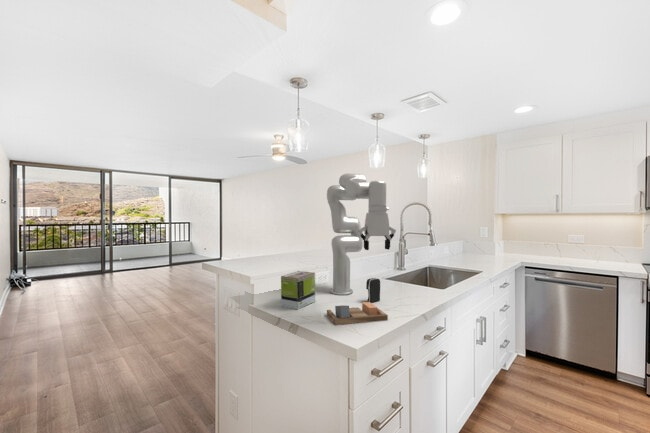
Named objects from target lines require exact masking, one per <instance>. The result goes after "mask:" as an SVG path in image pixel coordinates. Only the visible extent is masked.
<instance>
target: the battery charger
mask: <svg viewBox="0 0 650 433" xmlns="http://www.w3.org/2000/svg"><path fill="white" fill-rule="evenodd" d="M365 284H366V286H365V287H366V288H365V289H366V290H367V292H368V293H367V294H368V296H367V301H366V302H370V303H375V302H379V301H381V279H379V278H377V277H371V278H369V279H368V278H367V279H366V283H365Z"/></svg>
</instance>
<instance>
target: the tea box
mask: <svg viewBox="0 0 650 433" xmlns="http://www.w3.org/2000/svg"><path fill="white" fill-rule="evenodd" d="M315 276H316V273H315V272H313V271H303V270H296V271H293V272H290V273H287V274H284V275H281V276H280V291H281V294H280V295H281V296H280V302H281V303H280V304H281V307H282V306H283V307H284V308H287V307H288V308H287V309H293V310H300V309H302V308H304V307H306V306H308V305H310V304H312V303H315V302H316V277H315Z"/></svg>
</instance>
